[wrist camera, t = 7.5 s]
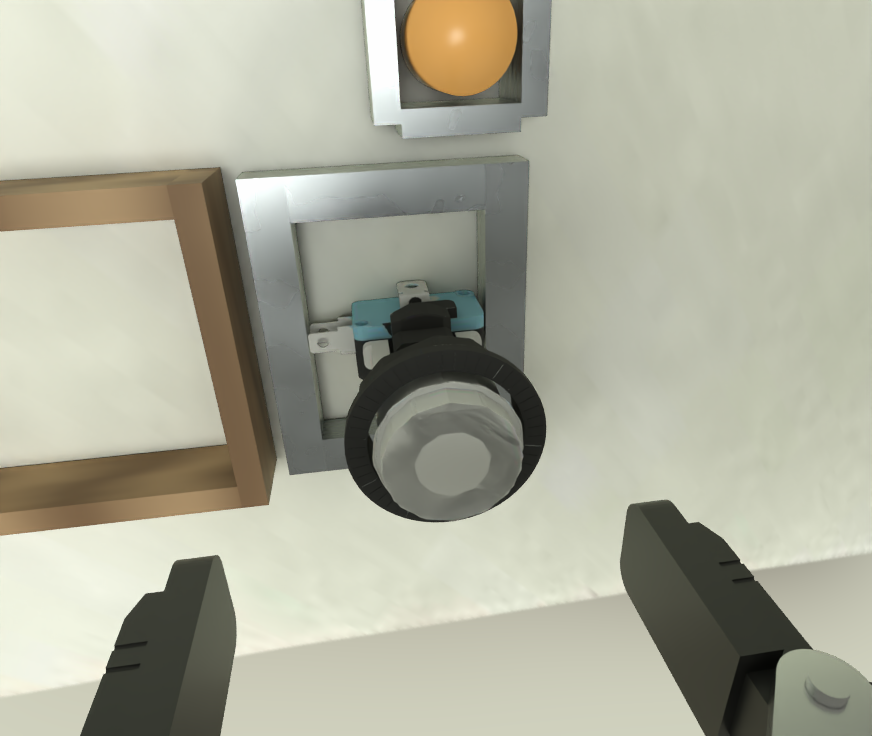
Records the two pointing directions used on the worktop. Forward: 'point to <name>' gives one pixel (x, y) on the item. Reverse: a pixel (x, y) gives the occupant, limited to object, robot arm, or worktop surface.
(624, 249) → the worktop surface
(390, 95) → the plunger collar
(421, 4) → the plunger
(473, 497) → the push button
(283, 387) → the socket block
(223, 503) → the wooden square frame
